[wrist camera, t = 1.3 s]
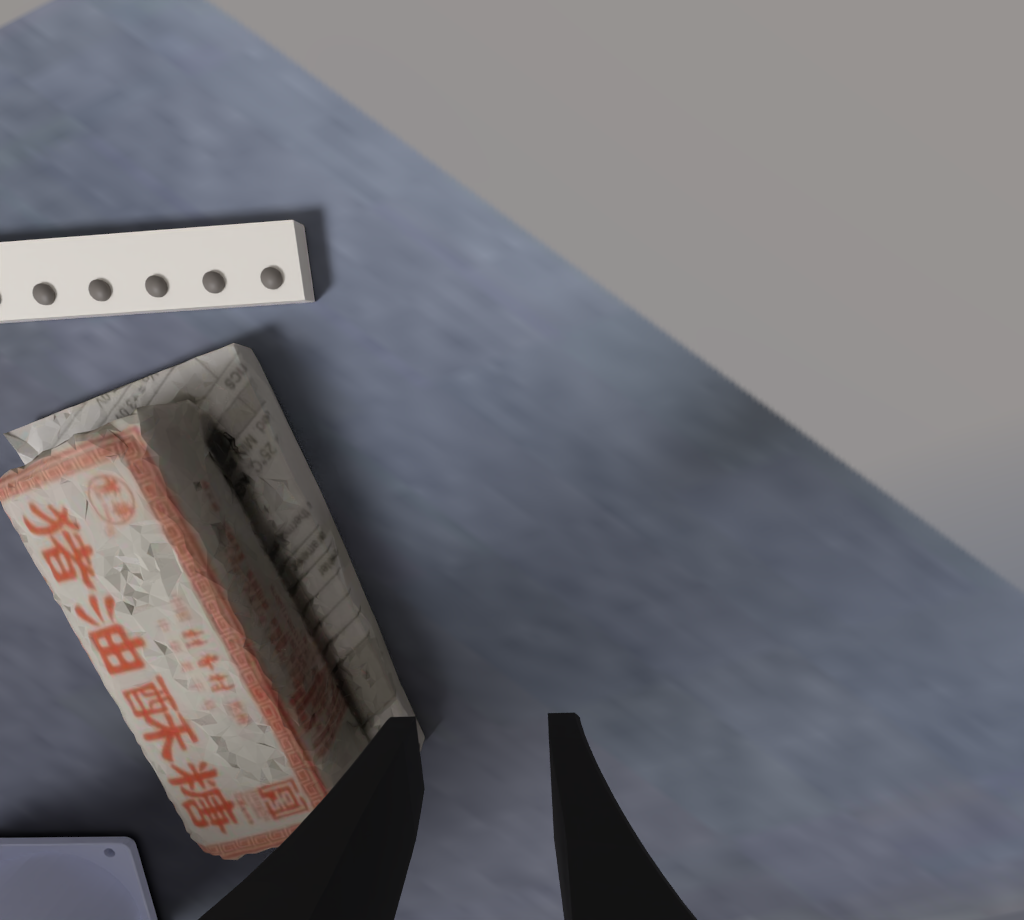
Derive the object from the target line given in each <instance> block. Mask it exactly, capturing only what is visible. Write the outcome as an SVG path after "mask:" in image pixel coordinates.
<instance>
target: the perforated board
mask: <svg viewBox="0 0 1024 920" xmlns="http://www.w3.org/2000/svg"><path fill="white" fill-rule="evenodd" d="M308 302H315V298H314V291H313V284H312V277H311V270H310V263H309V256H308V249H307V242H306V235H305V228H304V225H302V224H300V223H298V222H296V221H295V220H284V221H271V222H257V223H244V224H231V225H218V226H205V227H192V228H179V229H166V230H153V231H140V232H127V233H114V234H101V235H88V236H75V237H62V238H49V239H36V240H23V241H10V242H0V323H13V322H27V321H42V320H57V319H72V318H87V317H101V316H116V315H131V314H146V313H160V312H175V311H190V310H205V309H219V308H234V307H249V306H264V305H278V304H293V303H308Z"/></svg>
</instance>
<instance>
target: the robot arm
mask: <svg viewBox="0 0 1024 920" xmlns="http://www.w3.org/2000/svg"><path fill="white" fill-rule="evenodd" d="M548 726H549V748H550V768H551V787H552V807H553V826H554V841H555V849H556V857H557V865H558V873H559V881H560V888H561V896H562V904H563V912H564V920H697V919H696V918H695V916H694V915H693V914H692V913H691V911H690V910H689V909H688V908H687V906H686V905H685V904H684V903H683V901H682V900H681V899H680V897H679V896H678V895H677V893H676V892H675V890H674V889H673V888H672V886H671V885H670V884H669V882H668V881H667V880H666V878H665V877H664V875H663V874H662V873H661V871H660V870H659V868H658V867H657V865H656V864H655V862H654V861H653V860H652V858H651V857H650V855H649V854H648V852H647V851H646V849H645V848H644V846H643V845H642V843H641V841H640V840H639V838H638V837H637V835H636V833H635V832H634V830H633V829H632V827H631V825H630V824H629V822H628V820H627V819H626V817H625V815H624V814H623V812H622V810H621V808H620V807H619V805H618V803H617V801H616V799H615V798H614V796H613V794H612V792H611V790H610V788H609V786H608V784H607V782H606V780H605V779H604V777H603V775H602V773H601V771H600V769H599V767H598V764H597V762H596V760H595V758H594V756H593V753H592V751H591V749H590V747H589V744H588V742H587V739H586V737H585V734H584V731H583V728H582V725H581V721H580V717H579V716H578V715H577V714H575V713H548ZM423 794H424V781H423V773H422V765H421V757H420V748H419V740H418V732H417V723H416V716H410V717H390V718H389V719H388V720H387V721H386V722H385V723H384V724H383V726H382V727H381V728H380V730H379V731H378V732H377V733H376V735H375V736H374V737H373V739H372V740H371V741H370V742H369V744H368V745H367V746H366V747H365V749H364V750H363V751H362V753H361V754H360V755H359V756H358V758H357V759H356V760H355V761H354V763H353V764H352V765H351V766H350V767H349V769H348V770H347V771H346V772H345V773H344V775H343V776H342V777H341V778H340V779H339V781H338V782H337V783H336V784H335V785H334V787H333V788H332V789H331V790H330V791H329V793H328V794H327V795H326V796H325V797H324V798H323V800H322V801H321V802H320V803H319V804H318V805H317V806H316V807H315V808H314V809H313V811H312V812H311V813H310V814H309V815H308V816H307V817H306V818H305V819H304V820H303V822H302V823H301V824H300V825H299V826H298V827H297V828H296V829H295V830H294V831H293V832H292V833H291V834H290V835H289V837H288V838H287V839H286V840H285V841H284V842H283V843H282V844H281V845H280V846H279V847H278V848H277V849H276V850H275V851H274V852H273V853H272V854H271V855H270V856H269V857H268V858H267V859H266V860H265V861H264V862H262V863H261V864H260V865H259V866H258V867H257V868H256V869H255V870H254V871H253V872H252V873H251V874H250V875H249V876H248V877H247V878H246V879H244V880H243V881H242V882H241V883H240V884H239V885H238V886H237V887H235V888H234V889H233V890H232V891H231V892H230V893H229V894H227V895H226V896H225V897H224V898H223V899H222V900H220V901H219V902H218V903H217V904H216V905H215V906H213V907H212V908H211V909H210V910H209V911H208V912H206V913H205V914H204V915H203V916H202V917H201V918H199V919H198V920H394V918H395V914H396V910H397V907H398V903H399V900H400V896H401V892H402V889H403V885H404V882H405V878H406V874H407V870H408V867H409V863H410V859H411V856H412V852H413V848H414V844H415V841H416V836H417V830H418V825H419V819H420V813H421V807H422V801H423ZM0 920H158V919H157V916H156V912H155V909H154V905H153V902H152V898H151V895H150V891H149V888H148V884H147V881H146V877H145V874H144V870H143V867H142V863H141V860H140V856H139V853H138V849H137V846H136V843H135V841H134V840H133V839H131V838H129V837H34V838H0Z"/></svg>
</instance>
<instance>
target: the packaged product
mask: <svg viewBox="0 0 1024 920" xmlns="http://www.w3.org/2000/svg"><path fill="white" fill-rule="evenodd" d="M4 436H5V437H6V438H7V439H8V441H9V442H10V443H11V445H12V446H13V447H14V448H15V450H16V451H17V453H18V454H19V456H20V458H21V459H22V461H23V462H24V464H25V465H24V466H22V467H18V468H15V469H11V470H9V471H8V472H6V473H5V474H4V475H3V476H2V477H1V478H0V501H1V503H2V506H3V509H4V510H5V512H6V513H7V515H8V517H9V518H10V520H11V522H12V524H13V526H14V528H15V529H16V530H17V532H18V533H19V535H20V537H21V539H22V541H23V543H24V545H25V547H26V548H27V550H28V552H29V554H30V555H31V557H32V559H33V561H34V563H35V565H36V566H37V568H38V569H39V571H40V572H41V574H42V575H43V577H44V579H45V581H46V582H47V584H48V586H49V587H50V589H51V591H52V592H53V595H54V599H55V600H56V601H57V603H58V604H59V605H60V606H61V608H62V610H63V611H64V613H65V615H66V617H67V619H68V621H69V623H70V625H71V627H72V629H73V631H74V632H75V634H76V635H77V637H78V639H79V641H80V643H81V644H82V646H83V648H84V649H85V651H86V652H87V654H88V656H89V658H90V660H91V662H92V663H93V665H94V667H95V668H96V670H97V672H98V673H99V675H100V677H101V679H102V681H103V683H104V685H105V687H106V689H107V690H108V692H109V693H110V695H111V696H112V697H113V699H114V700H115V702H116V703H117V705H118V706H119V707H120V710H121V713H122V716H123V719H124V720H125V722H126V723H127V725H128V727H129V728H130V730H131V731H132V732H133V733H134V735H135V738H136V741H137V743H138V744H139V745H140V746H141V748H142V751H143V754H144V755H145V757H146V758H147V760H148V761H149V762H150V764H151V765H152V767H153V769H154V770H155V772H156V774H157V776H158V778H159V780H160V781H161V783H162V785H163V787H164V788H165V791H166V793H167V796H168V798H169V799H170V801H171V802H172V803H173V804H174V807H175V809H176V812H177V813H178V814H179V816H180V817H181V819H182V821H183V823H184V826H185V828H186V831H187V832H188V833H189V834H190V838H191V839H192V840H194V841H195V842H196V843H197V844H198V845H199V846H200V847H201V849H202V850H203V851H204V852H206V853H210V854H212V855H214V856H215V855H220V856H221V858H222V859H224V860H238V859H240V858H241V857H242V856H244V855H245V854H256V853H259V852H262V851H264V850H267V849H270V848H275V847H279V846H280V845H281V844H282V843H283V842H284V841H285V840H286V839H287V838H288V837H289V835H290V834H291V833H292V832H293V831H294V830H295V829H296V828H297V827H298V826H299V825H300V824H301V823H302V822H303V820H304V819H305V818H306V817H307V816H308V815H309V814H310V813H311V812H312V811H313V809H314V808H315V807H316V806H317V805H318V804H319V803H320V802H321V801H322V800H323V798H324V797H325V796H326V795H327V794H328V793H329V791H330V790H331V789H332V788H333V787H334V785H335V784H336V783H337V782H338V781H339V779H340V778H341V777H342V776H343V775H344V773H345V772H346V771H347V770H348V769H349V767H350V766H351V765H352V764H353V763H354V761H355V760H356V759H357V758H358V756H359V755H360V754H361V753H362V751H363V750H364V749H365V747H366V746H367V745H368V744H369V742H370V741H371V740H372V739H373V737H374V736H375V735H376V733H377V732H378V731H379V730H380V728H381V727H382V726H383V724H384V723H385V722H386V721H387V720H388V719H389V718H390V717H410V716H415V714H414V712H413V710H412V707H411V705H410V703H409V701H408V699H407V696H406V694H405V692H404V690H403V688H402V686H401V684H400V681H399V679H398V676H397V673H396V671H395V668H394V666H393V663H392V660H391V658H390V655H389V653H388V650H387V647H386V645H385V642H384V640H383V637H382V634H381V632H380V629H379V626H378V624H377V621H376V619H375V616H374V614H373V613H372V610H371V608H370V605H369V603H368V601H367V598H366V596H365V594H364V591H363V589H362V586H361V584H360V582H359V579H358V577H357V575H356V572H355V570H354V567H353V565H352V563H351V560H350V558H349V555H348V553H347V550H346V548H345V546H344V543H343V541H342V539H341V536H340V534H339V532H338V530H337V527H336V525H335V523H334V520H333V518H332V516H331V514H330V511H329V509H328V507H327V504H326V502H325V500H324V498H323V495H322V493H321V491H320V489H319V487H318V485H317V483H316V481H315V478H314V476H313V474H312V472H311V470H310V468H309V466H308V464H307V462H306V460H305V458H304V455H303V453H302V451H301V449H300V447H299V445H298V443H297V441H296V439H295V437H294V434H293V432H292V430H291V428H290V426H289V424H288V422H287V420H286V418H285V416H284V413H283V411H282V409H281V407H280V405H279V403H278V401H277V399H276V397H275V395H274V392H273V390H272V388H271V386H270V384H269V382H268V380H267V378H266V376H265V374H264V372H263V369H262V367H261V365H260V363H259V361H258V360H257V358H256V356H255V354H254V353H253V351H252V349H251V348H248V347H245V346H242V345H239V344H236V343H232V344H230V345H227V346H225V347H222V348H220V349H218V350H215V351H212V352H209V353H206V354H204V355H201V356H198V357H195V358H193V359H191V360H189V361H187V362H184V363H181V364H179V365H176V366H173V367H171V368H168V369H165V370H163V371H160V372H158V373H155V374H153V375H150V376H148V377H145V378H143V379H140V380H137V381H135V382H132V383H130V384H127V385H124V386H122V387H119V388H117V389H114V390H112V391H110V392H107V393H105V394H102V395H100V396H98V397H95V398H93V399H90V400H88V401H86V402H83V403H81V404H79V405H76V406H73V407H70V408H67V409H65V410H62V411H60V412H57V413H55V414H53V415H50V416H48V417H46V418H43V419H40V420H38V421H35V422H33V423H30V424H28V425H26V426H23V427H21V428H18V429H16V430H13V431H10V432H8V433H4ZM416 723H417V732H418V740H419V748H420V752H421V749H422V745H423V742H424V739H425V737H424V734H423V732H422V729H421V727H420V725H419V723H418V721H417V718H416Z"/></svg>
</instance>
